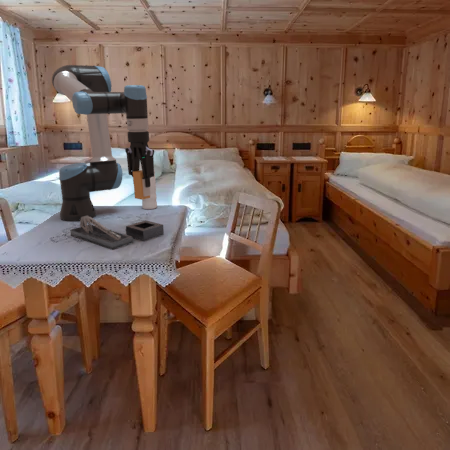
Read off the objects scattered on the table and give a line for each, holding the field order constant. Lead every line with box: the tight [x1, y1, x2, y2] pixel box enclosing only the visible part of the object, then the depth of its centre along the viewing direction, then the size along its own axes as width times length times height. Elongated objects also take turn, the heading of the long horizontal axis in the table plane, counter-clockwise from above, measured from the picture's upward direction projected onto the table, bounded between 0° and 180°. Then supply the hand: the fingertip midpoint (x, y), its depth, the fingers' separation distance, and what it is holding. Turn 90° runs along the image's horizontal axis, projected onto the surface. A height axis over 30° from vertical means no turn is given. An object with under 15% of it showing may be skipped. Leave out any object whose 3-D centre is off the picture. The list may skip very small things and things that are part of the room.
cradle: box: [69, 224, 134, 251], centre depth 152 cm, size 26×9×2 cm, turn 52°
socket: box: [125, 220, 165, 242], centre depth 156 cm, size 10×10×4 cm
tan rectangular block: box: [132, 169, 150, 200], centre depth 150 cm, size 4×4×10 cm
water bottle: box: [140, 157, 158, 210], centre depth 194 cm, size 7×7×25 cm
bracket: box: [79, 216, 121, 241], centre depth 151 cm, size 3×21×10 cm, turn 50°
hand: (142, 194), depth 152 cm, fingers closed on tan rectangular block, 4 cm apart
